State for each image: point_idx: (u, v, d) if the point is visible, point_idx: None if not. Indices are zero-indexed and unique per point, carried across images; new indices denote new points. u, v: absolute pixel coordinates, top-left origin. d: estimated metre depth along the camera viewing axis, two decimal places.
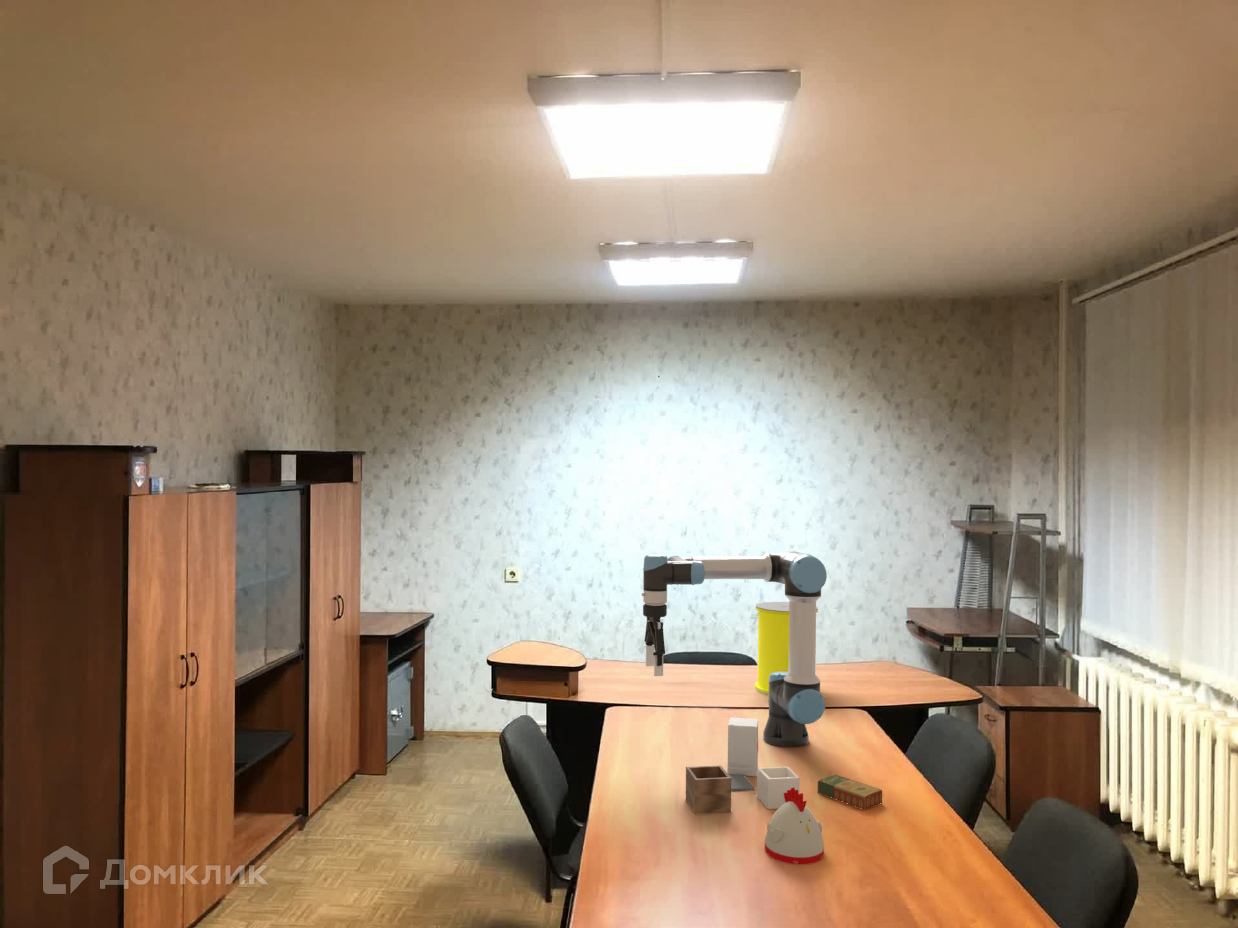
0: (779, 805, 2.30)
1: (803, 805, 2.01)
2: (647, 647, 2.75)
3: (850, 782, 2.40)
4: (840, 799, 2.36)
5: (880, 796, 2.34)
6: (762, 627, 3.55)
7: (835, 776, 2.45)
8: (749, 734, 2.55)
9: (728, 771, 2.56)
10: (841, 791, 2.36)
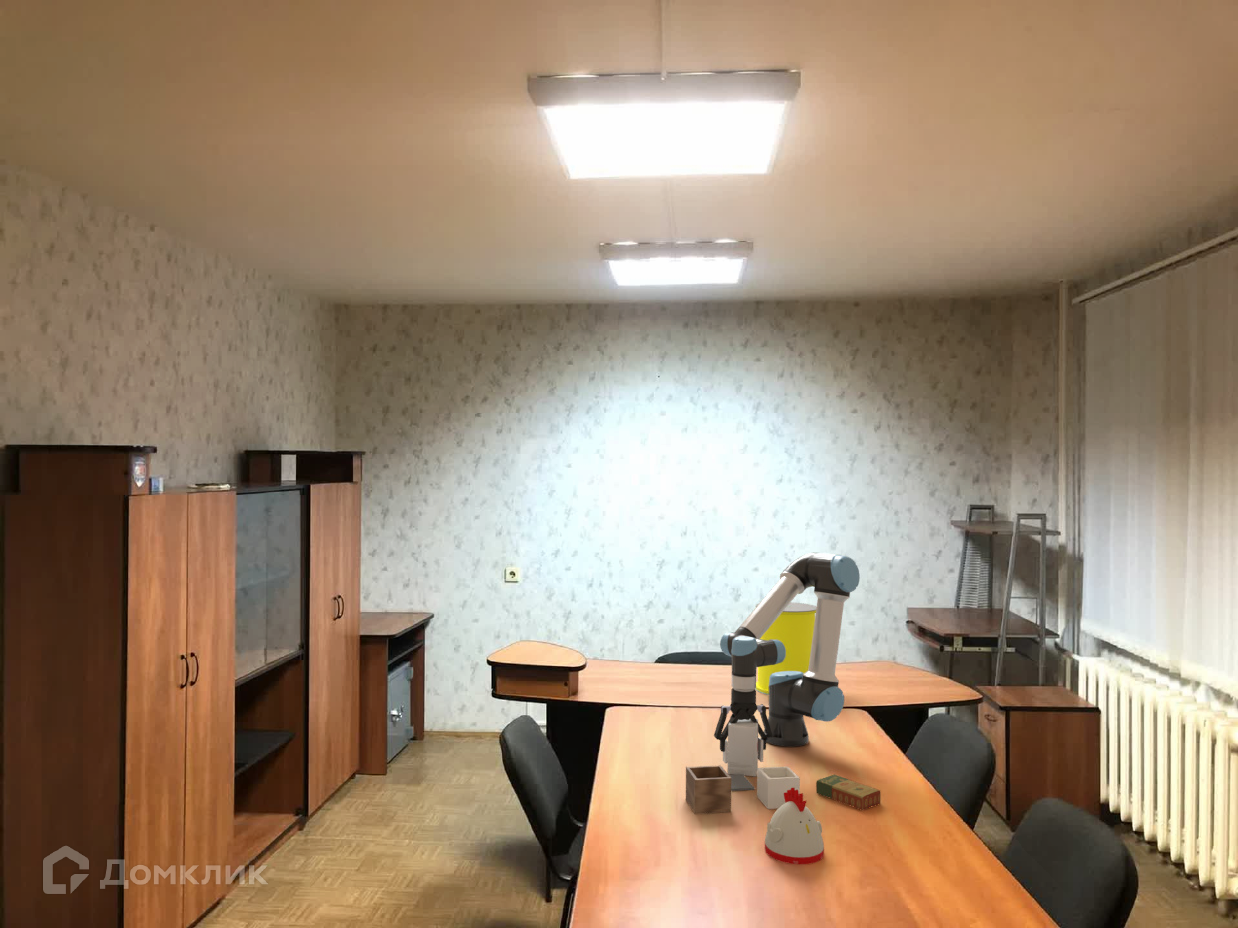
0: (779, 805, 2.30)
1: (803, 805, 2.01)
2: (758, 739, 2.61)
3: (848, 782, 2.39)
4: (838, 799, 2.36)
5: (878, 796, 2.34)
6: None
7: (834, 776, 2.45)
8: (749, 734, 2.55)
9: (728, 771, 2.56)
10: (839, 791, 2.36)
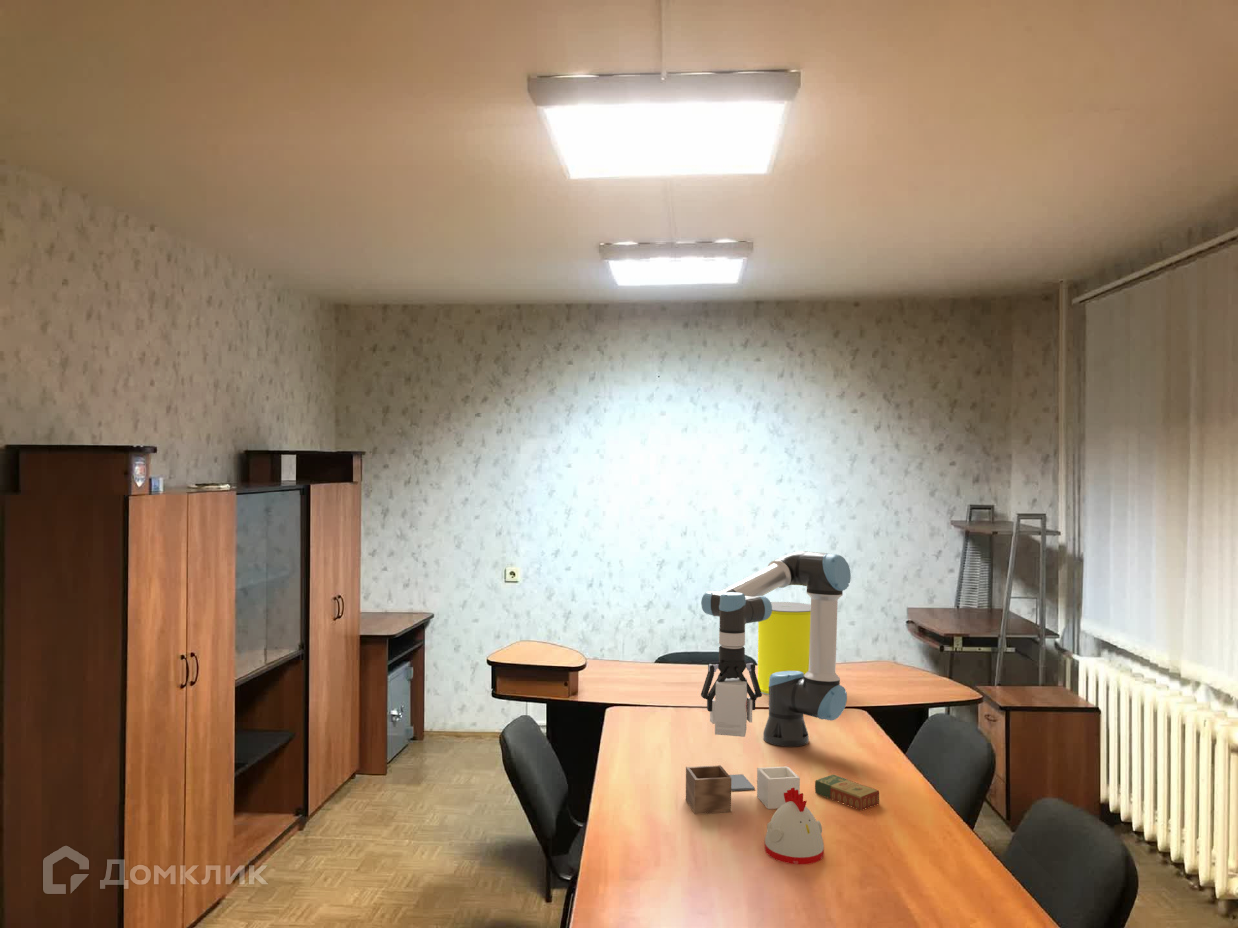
0: (779, 805, 2.30)
1: (803, 805, 2.01)
2: (747, 699, 2.50)
3: (847, 782, 2.39)
4: (837, 799, 2.36)
5: (877, 797, 2.34)
6: (762, 627, 3.55)
7: (833, 776, 2.45)
8: (737, 692, 2.44)
9: (715, 731, 2.45)
10: (838, 791, 2.35)
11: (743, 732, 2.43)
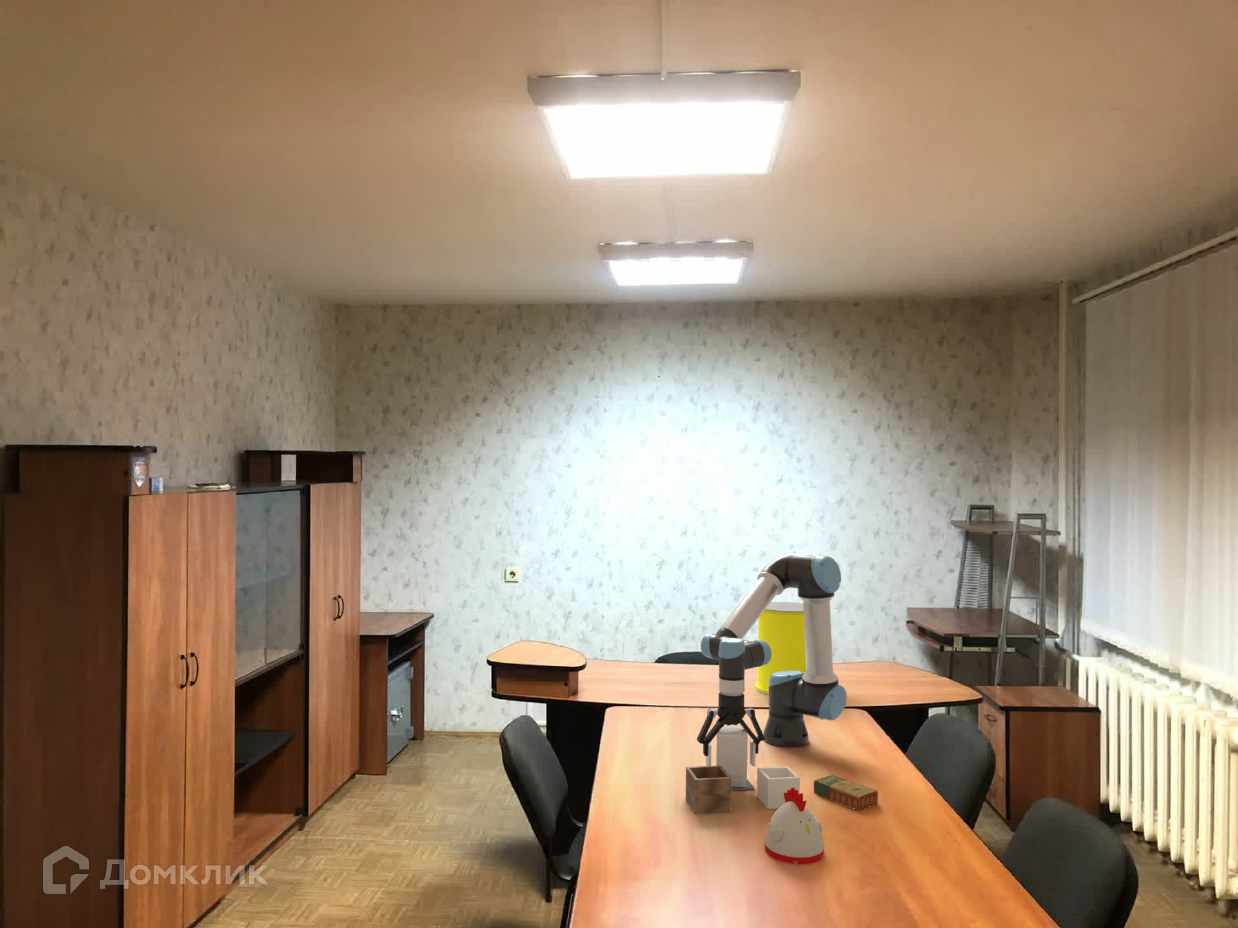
0: (779, 805, 2.30)
1: (803, 805, 2.01)
2: (750, 742, 2.50)
3: (846, 783, 2.39)
4: (835, 799, 2.36)
5: (875, 797, 2.33)
6: (762, 627, 3.55)
7: (832, 776, 2.45)
8: (739, 743, 2.44)
9: None
10: (836, 791, 2.35)
11: (744, 783, 2.43)
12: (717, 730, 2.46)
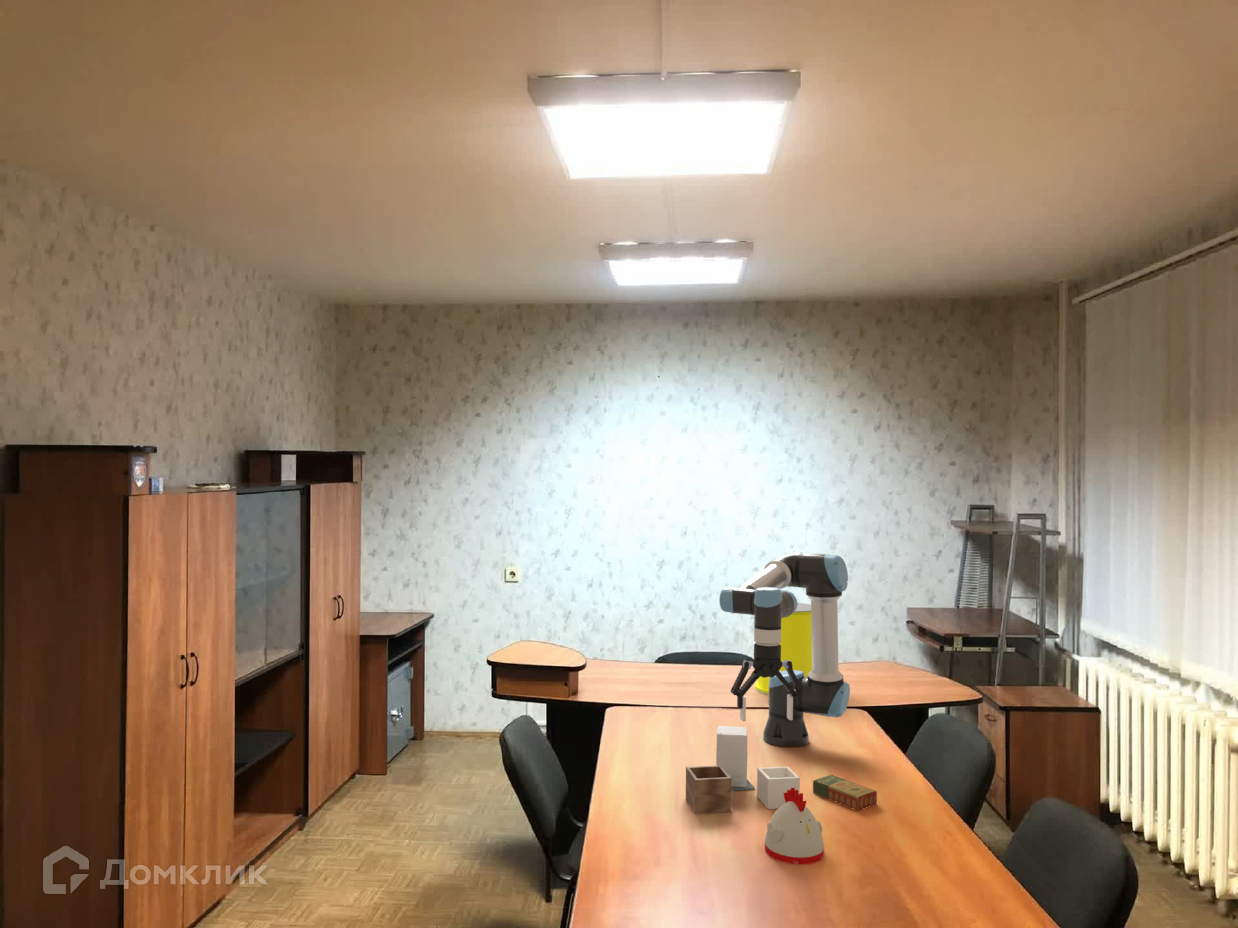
0: (779, 805, 2.30)
1: (803, 805, 2.01)
2: (787, 696, 2.40)
3: (845, 783, 2.39)
4: (834, 799, 2.36)
5: (874, 797, 2.33)
6: None
7: (831, 776, 2.45)
8: (739, 743, 2.44)
9: None
10: (835, 791, 2.35)
11: (744, 783, 2.43)
12: (752, 682, 2.36)
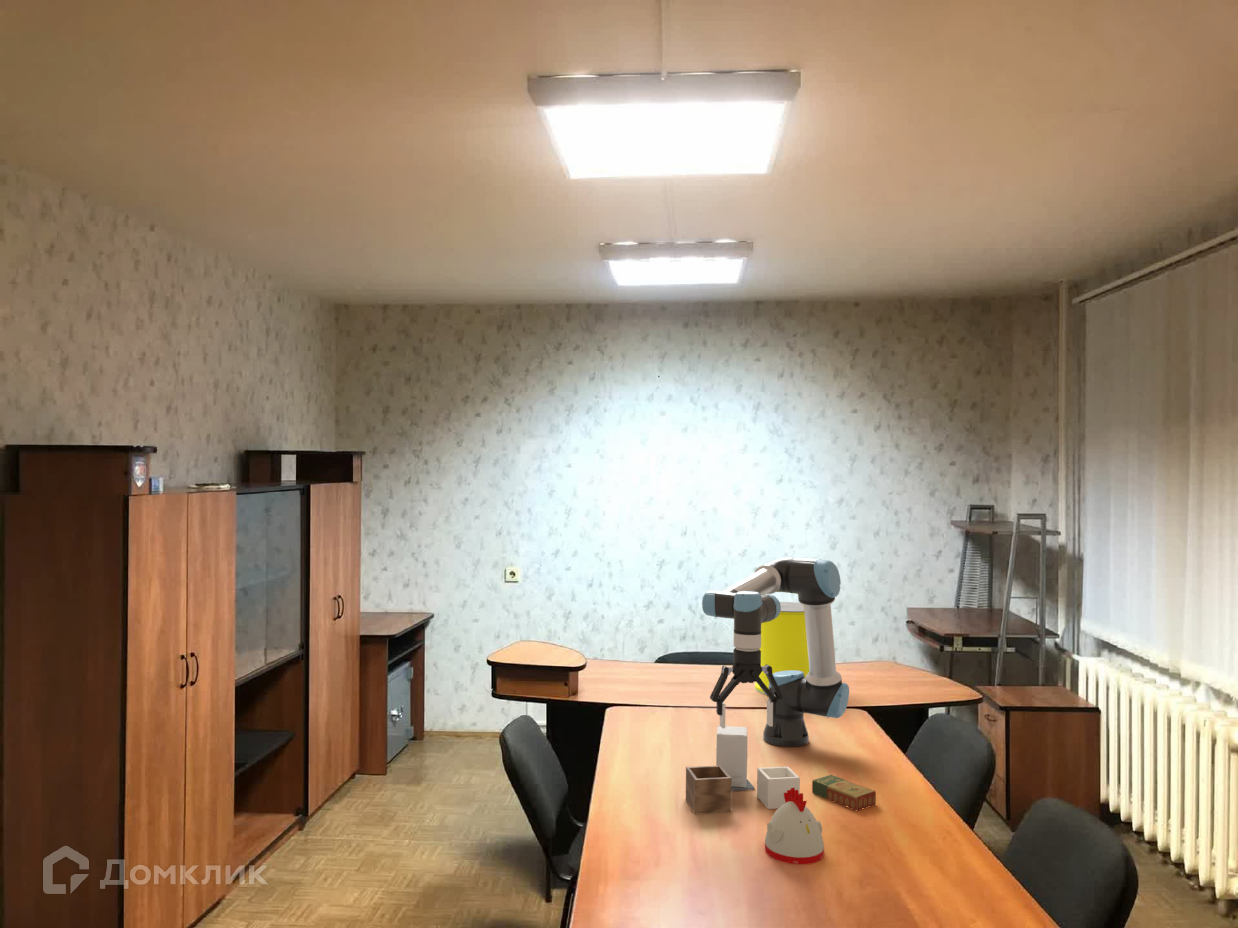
0: (779, 805, 2.30)
1: (803, 805, 2.01)
2: (767, 702, 2.36)
3: (844, 783, 2.39)
4: (833, 799, 2.36)
5: (873, 797, 2.33)
6: (762, 627, 3.55)
7: (830, 776, 2.45)
8: (739, 743, 2.44)
9: None
10: (834, 791, 2.35)
11: (744, 783, 2.43)
12: (732, 688, 2.31)
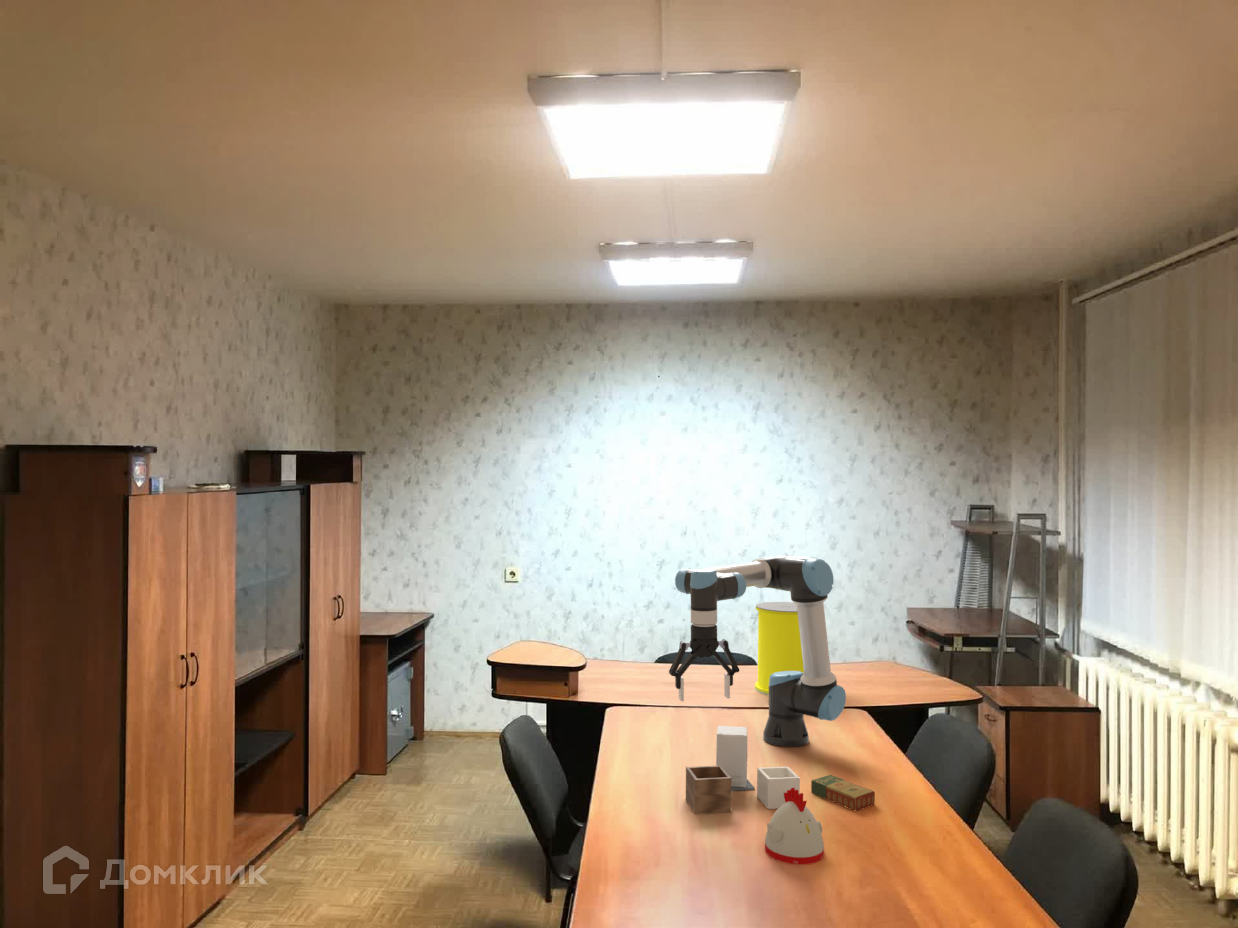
0: (779, 805, 2.30)
1: (803, 805, 2.01)
2: (724, 675, 2.44)
3: (843, 783, 2.39)
4: (832, 799, 2.36)
5: (872, 797, 2.33)
6: (762, 627, 3.55)
7: (830, 776, 2.45)
8: (739, 743, 2.44)
9: None
10: (833, 791, 2.35)
11: (744, 783, 2.43)
12: (689, 662, 2.40)
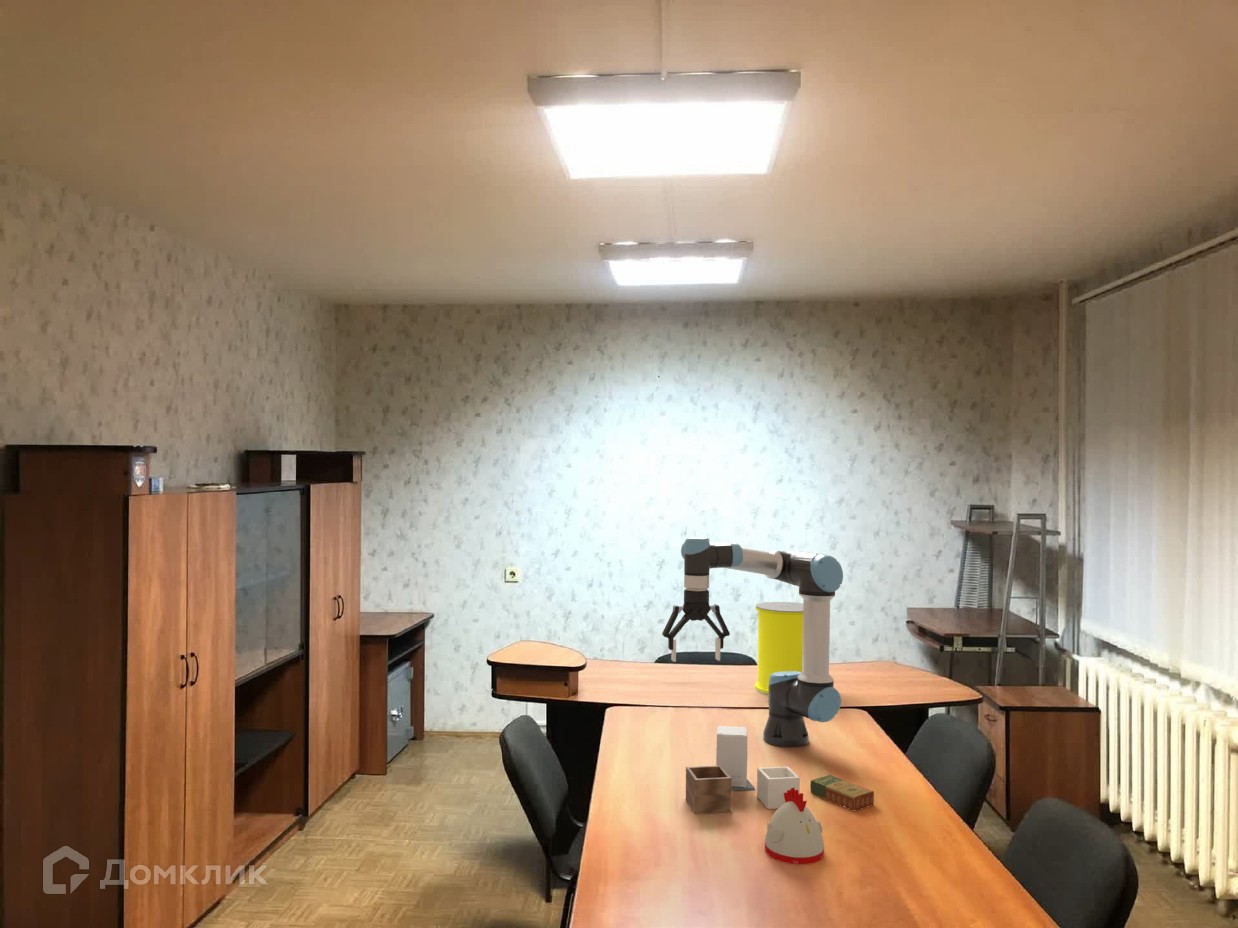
0: (779, 805, 2.30)
1: (803, 805, 2.01)
2: None
3: (842, 783, 2.39)
4: (831, 799, 2.36)
5: (871, 797, 2.33)
6: (762, 627, 3.55)
7: (829, 776, 2.44)
8: (739, 743, 2.44)
9: None
10: (832, 791, 2.35)
11: (744, 783, 2.43)
12: (682, 625, 2.52)
